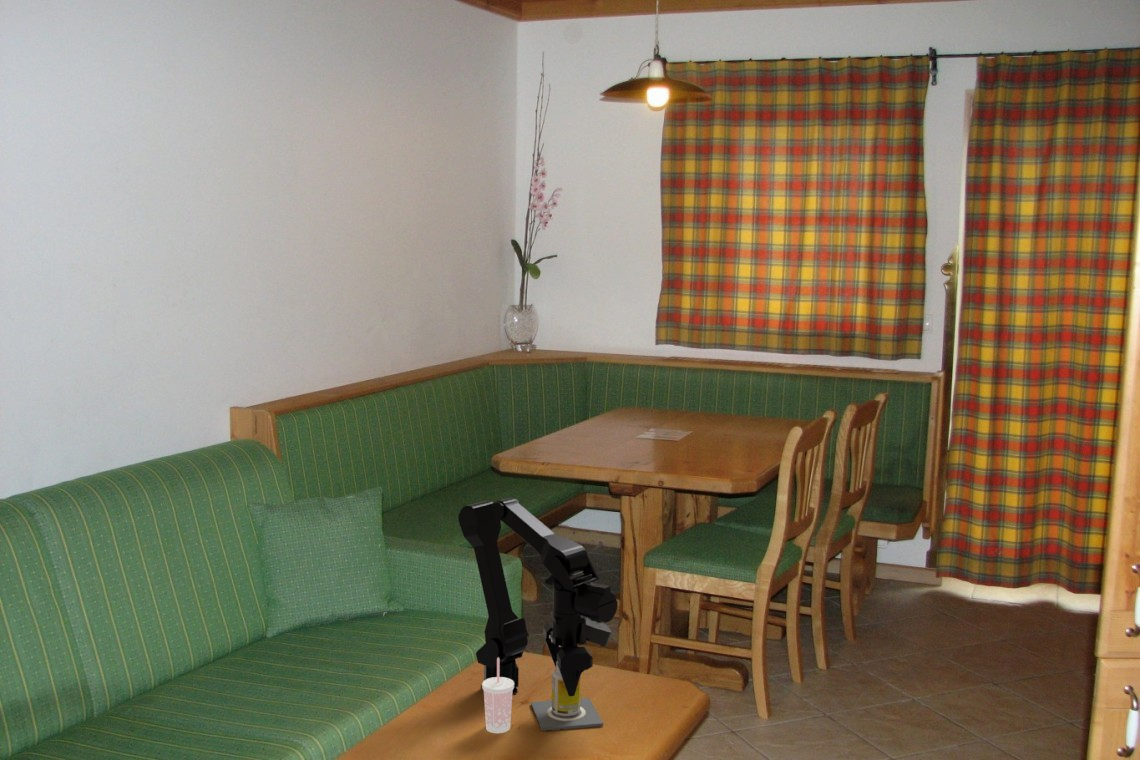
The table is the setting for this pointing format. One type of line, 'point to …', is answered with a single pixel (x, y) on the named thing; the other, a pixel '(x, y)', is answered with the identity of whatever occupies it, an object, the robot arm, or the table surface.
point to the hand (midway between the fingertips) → (566, 686)
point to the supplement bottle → (563, 696)
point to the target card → (556, 722)
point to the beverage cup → (498, 702)
